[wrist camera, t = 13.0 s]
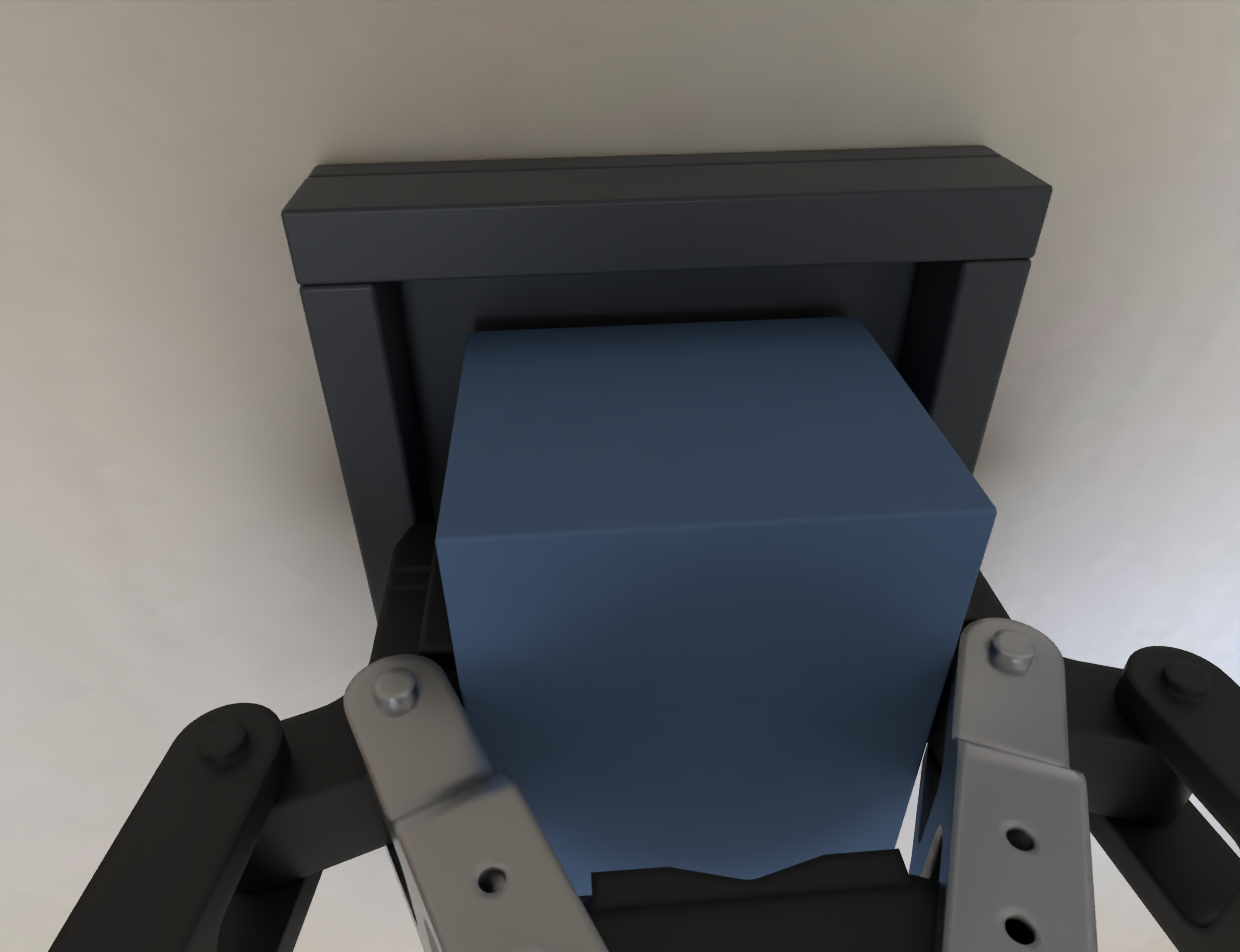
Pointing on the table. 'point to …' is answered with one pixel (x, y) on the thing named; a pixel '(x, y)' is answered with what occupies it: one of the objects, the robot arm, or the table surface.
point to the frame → (642, 280)
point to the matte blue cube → (704, 586)
